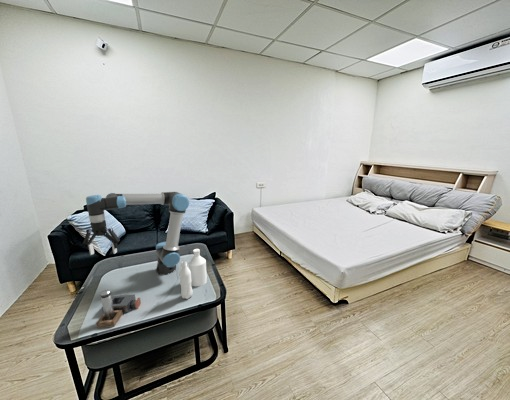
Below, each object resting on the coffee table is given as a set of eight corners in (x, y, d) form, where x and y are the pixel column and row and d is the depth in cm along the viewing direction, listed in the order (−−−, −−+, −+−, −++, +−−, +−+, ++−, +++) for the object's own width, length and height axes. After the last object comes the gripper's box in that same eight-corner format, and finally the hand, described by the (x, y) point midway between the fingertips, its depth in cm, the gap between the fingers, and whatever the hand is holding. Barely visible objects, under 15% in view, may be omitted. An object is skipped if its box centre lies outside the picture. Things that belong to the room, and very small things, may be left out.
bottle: (199, 275, 165) (197, 245, 159) (210, 280, 158) (208, 249, 153) (187, 283, 155) (184, 251, 150) (198, 288, 149) (195, 255, 143)
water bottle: (183, 293, 144) (179, 259, 138) (193, 292, 145) (190, 258, 139) (180, 300, 137) (176, 265, 132) (191, 299, 138) (188, 264, 132)
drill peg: (117, 316, 124) (112, 288, 120) (112, 322, 119) (107, 294, 115) (108, 317, 123) (103, 289, 119) (103, 323, 119) (97, 294, 115)
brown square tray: (122, 314, 126) (122, 309, 125) (114, 326, 117) (113, 321, 117) (106, 315, 125) (105, 311, 125) (97, 327, 117) (96, 323, 116)
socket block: (135, 301, 137) (134, 294, 136) (128, 312, 127) (126, 305, 126) (112, 302, 136) (111, 296, 135) (103, 314, 126) (101, 307, 125)
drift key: (140, 303, 135) (140, 297, 134) (137, 308, 130) (136, 302, 129) (127, 304, 134) (126, 298, 133) (123, 309, 130) (122, 303, 129)
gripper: (122, 218, 134) (127, 249, 138) (80, 219, 131) (86, 251, 136) (116, 222, 126) (121, 255, 131) (71, 223, 124) (78, 257, 129)
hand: (103, 253), depth 134 cm, fingers open, 13 cm apart
